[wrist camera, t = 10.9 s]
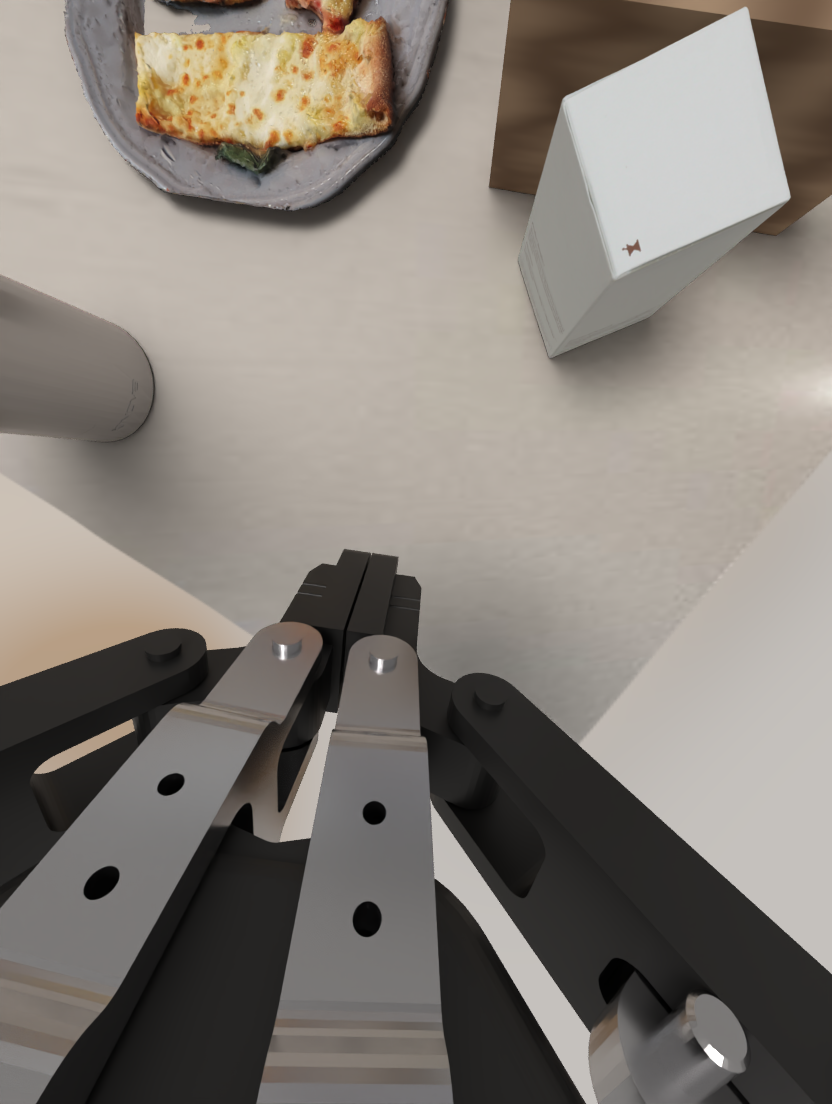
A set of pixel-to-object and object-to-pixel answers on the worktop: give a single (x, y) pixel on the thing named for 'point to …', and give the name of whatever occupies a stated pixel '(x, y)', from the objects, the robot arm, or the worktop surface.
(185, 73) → the food plate
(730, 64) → the supplement box
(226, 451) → the worktop surface
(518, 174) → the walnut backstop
